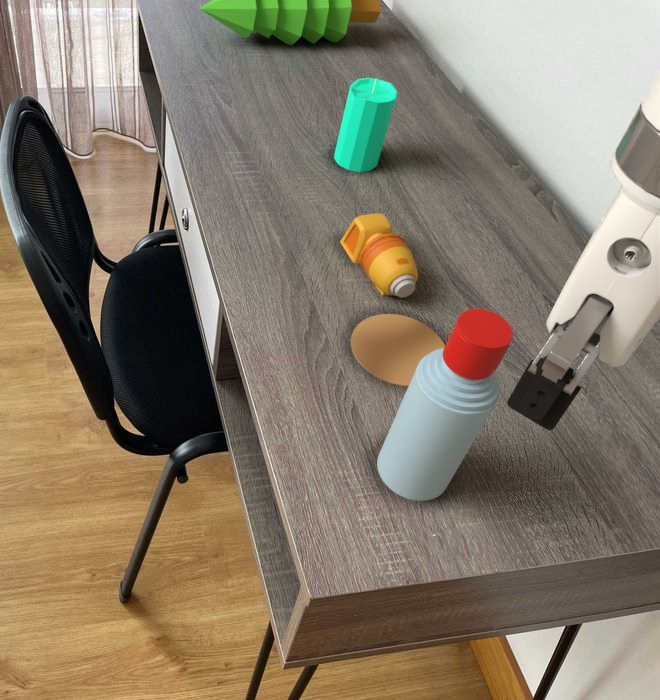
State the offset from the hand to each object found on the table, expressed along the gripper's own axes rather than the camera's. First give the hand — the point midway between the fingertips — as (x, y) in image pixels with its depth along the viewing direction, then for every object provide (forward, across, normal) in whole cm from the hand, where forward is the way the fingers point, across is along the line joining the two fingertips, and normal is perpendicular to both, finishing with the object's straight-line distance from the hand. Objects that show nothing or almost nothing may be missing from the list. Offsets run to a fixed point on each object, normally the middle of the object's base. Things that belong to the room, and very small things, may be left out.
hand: (560, 376), depth 50 cm
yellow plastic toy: (+18, +21, +23) cm, 36 cm away
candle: (+17, +38, +38) cm, 56 cm away
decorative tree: (+16, +59, +67) cm, 91 cm away
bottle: (+18, 0, +6) cm, 19 cm away
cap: (+3, 0, +6) cm, 7 cm away
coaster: (+18, +12, +15) cm, 26 cm away
